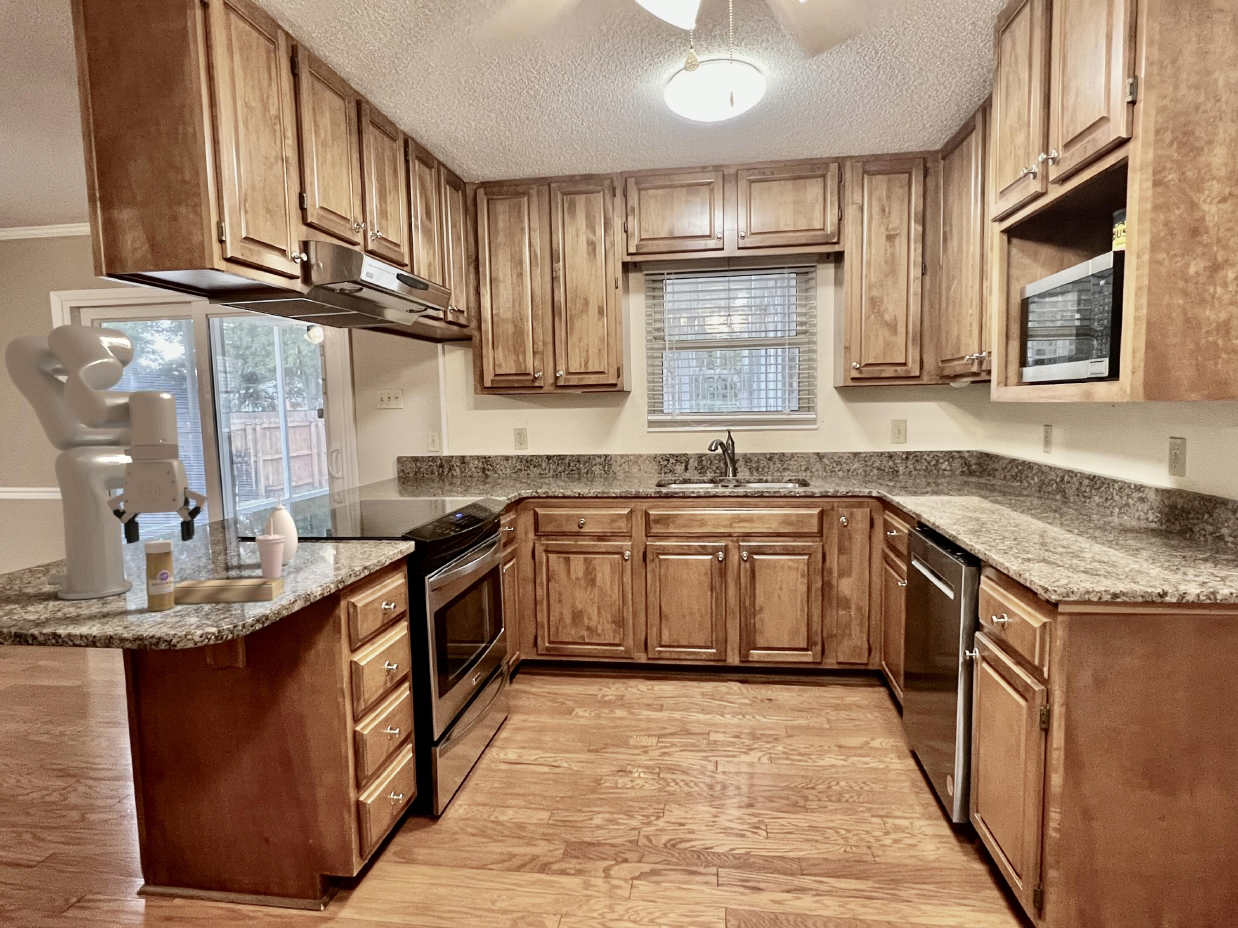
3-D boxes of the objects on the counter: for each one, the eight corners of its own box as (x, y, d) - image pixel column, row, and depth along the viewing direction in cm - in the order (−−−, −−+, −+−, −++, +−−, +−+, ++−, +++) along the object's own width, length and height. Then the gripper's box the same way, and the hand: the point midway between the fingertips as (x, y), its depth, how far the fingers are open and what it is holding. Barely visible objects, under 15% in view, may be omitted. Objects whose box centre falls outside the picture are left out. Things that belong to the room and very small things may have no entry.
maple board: (166, 604, 132) (166, 589, 131) (183, 594, 139) (183, 580, 138) (272, 600, 135) (272, 585, 135) (284, 591, 142) (283, 577, 142)
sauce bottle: (262, 569, 163) (260, 498, 162) (265, 563, 170) (263, 494, 169) (297, 566, 166) (295, 496, 165) (298, 560, 173) (297, 493, 172)
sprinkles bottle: (157, 613, 126) (154, 544, 125) (141, 610, 127) (138, 542, 126) (180, 606, 130) (178, 540, 129) (165, 604, 132) (162, 538, 131)
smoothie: (290, 572, 159) (288, 516, 158) (281, 579, 153) (279, 520, 152) (262, 573, 158) (260, 516, 157) (252, 580, 152) (250, 520, 151)
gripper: (93, 456, 121) (99, 546, 122) (194, 454, 124) (199, 542, 125) (117, 455, 129) (122, 540, 130) (212, 452, 132) (216, 536, 133)
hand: (160, 541), depth 127 cm, fingers open, 9 cm apart
